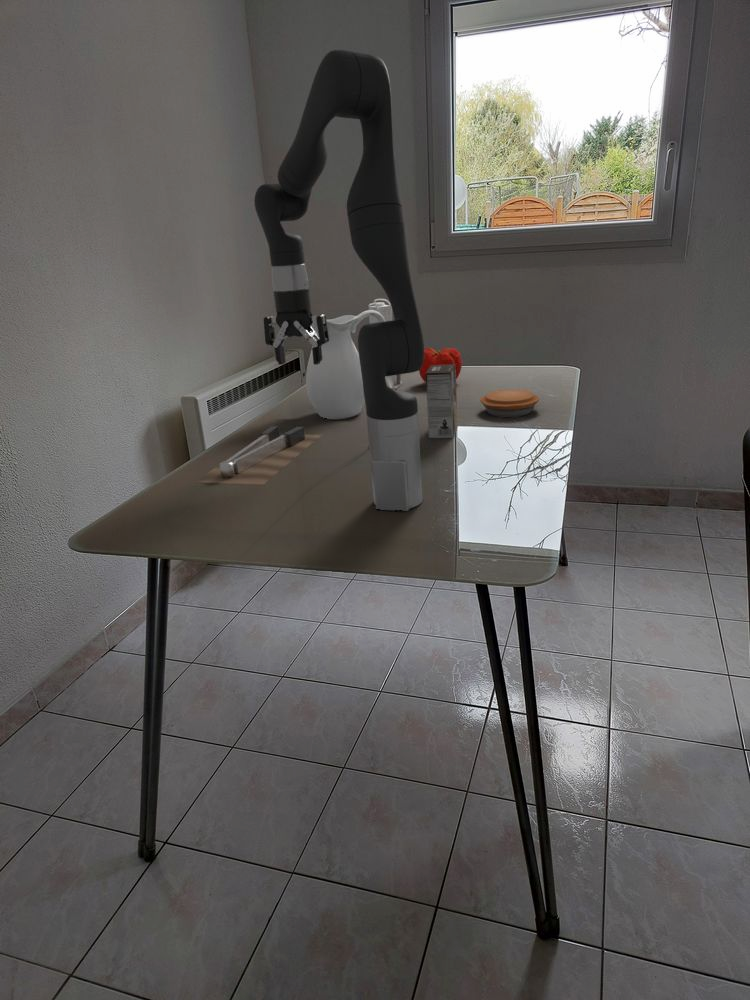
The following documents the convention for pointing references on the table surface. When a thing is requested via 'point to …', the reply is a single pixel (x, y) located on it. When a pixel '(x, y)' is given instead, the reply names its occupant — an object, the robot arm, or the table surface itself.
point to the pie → (509, 402)
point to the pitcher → (338, 370)
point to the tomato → (440, 360)
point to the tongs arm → (269, 449)
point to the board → (261, 466)
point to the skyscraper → (387, 314)
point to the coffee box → (441, 401)
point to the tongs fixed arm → (266, 437)
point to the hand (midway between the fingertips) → (299, 363)
